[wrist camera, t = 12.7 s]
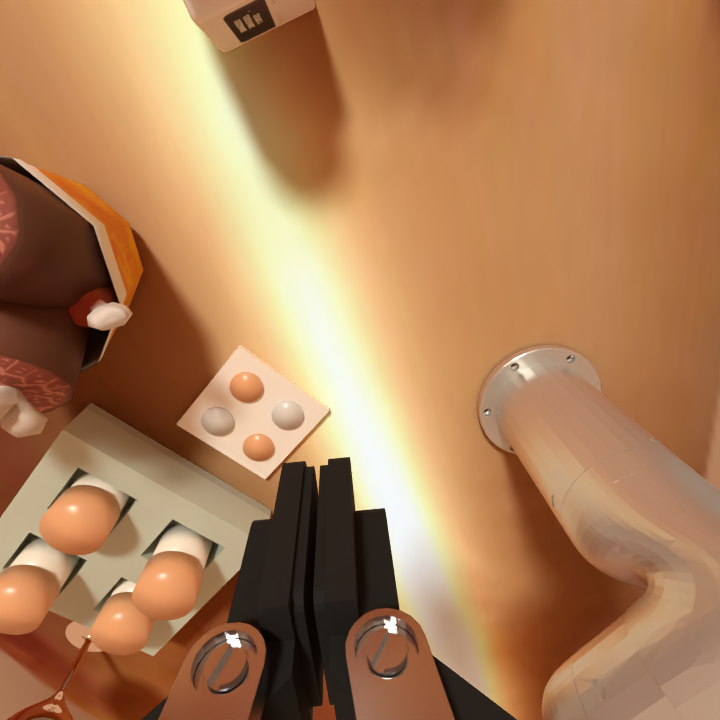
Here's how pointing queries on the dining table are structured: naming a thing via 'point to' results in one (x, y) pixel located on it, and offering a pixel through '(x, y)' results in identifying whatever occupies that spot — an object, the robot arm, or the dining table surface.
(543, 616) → the dining table surface
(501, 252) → the dining table surface
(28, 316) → the bucket of meat
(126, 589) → the button
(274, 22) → the container
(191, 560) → the button
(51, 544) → the button
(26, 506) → the board
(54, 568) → the button
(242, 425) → the pattern tile
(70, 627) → the wineglass
